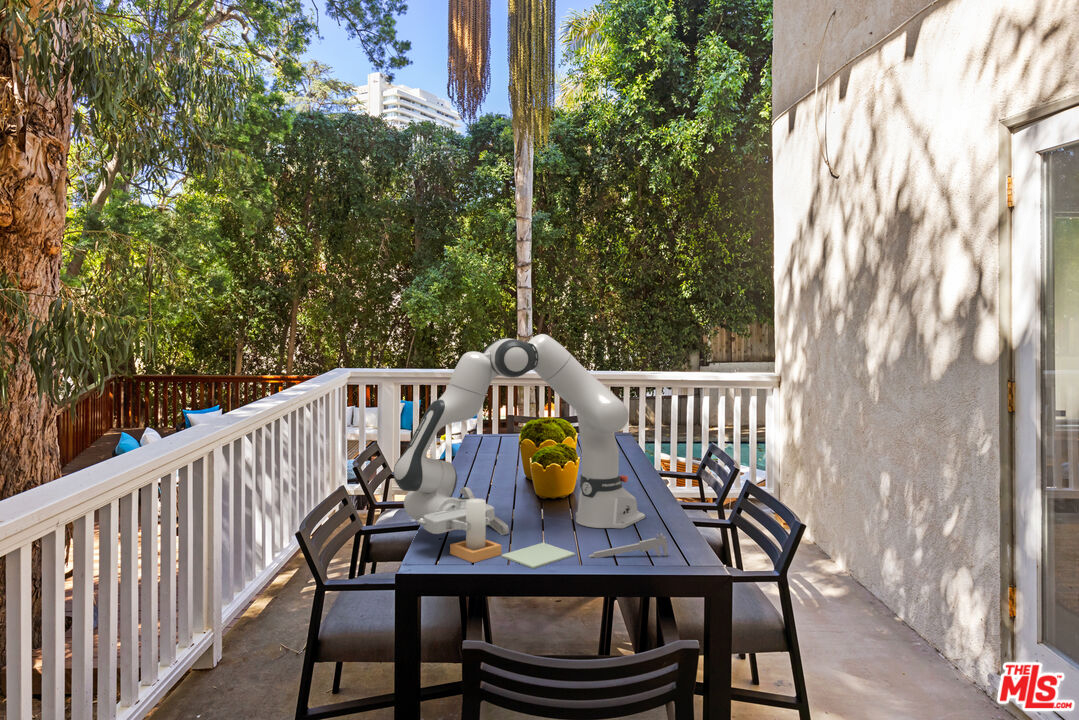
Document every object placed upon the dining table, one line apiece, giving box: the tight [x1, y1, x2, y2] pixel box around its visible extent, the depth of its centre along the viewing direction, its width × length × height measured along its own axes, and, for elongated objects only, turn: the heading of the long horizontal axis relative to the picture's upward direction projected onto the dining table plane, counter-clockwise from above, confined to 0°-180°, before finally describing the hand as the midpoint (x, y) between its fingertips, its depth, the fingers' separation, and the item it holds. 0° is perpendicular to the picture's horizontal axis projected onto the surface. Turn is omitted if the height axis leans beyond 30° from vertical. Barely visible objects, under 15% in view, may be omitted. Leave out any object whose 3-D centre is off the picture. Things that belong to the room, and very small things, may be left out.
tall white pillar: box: [465, 498, 487, 551], centre depth 188 cm, size 5×5×14 cm
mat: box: [500, 542, 576, 570], centre depth 187 cm, size 15×12×1 cm
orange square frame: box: [449, 539, 502, 564], centre depth 188 cm, size 9×9×2 cm
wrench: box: [459, 486, 510, 536], centre depth 217 cm, size 8×2×30 cm
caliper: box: [588, 532, 668, 559], centre depth 187 cm, size 20×1×6 cm, turn 95°
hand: (478, 524), depth 187 cm, fingers closed on tall white pillar, 5 cm apart
